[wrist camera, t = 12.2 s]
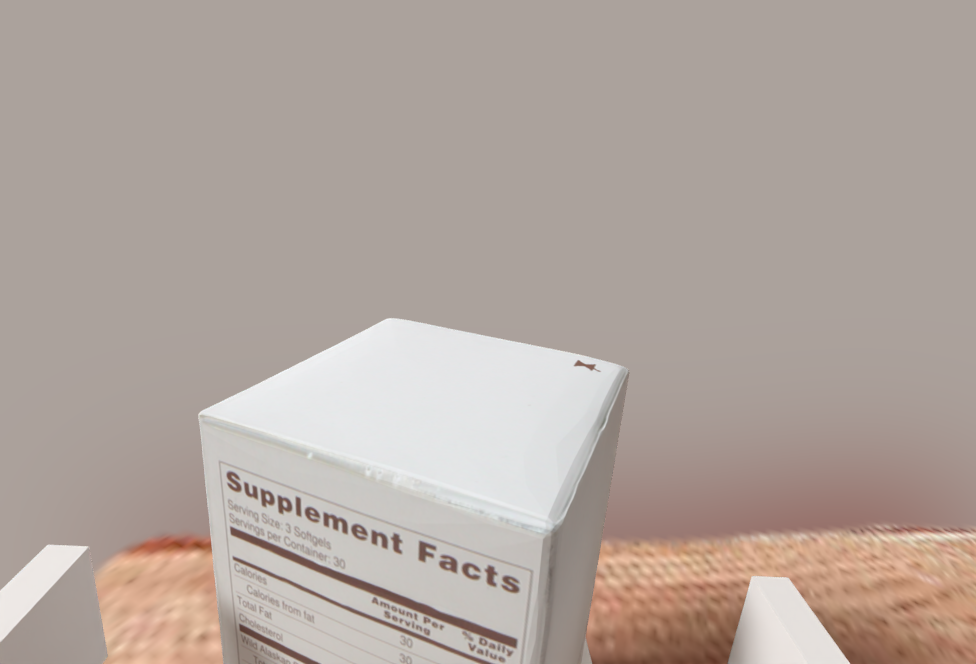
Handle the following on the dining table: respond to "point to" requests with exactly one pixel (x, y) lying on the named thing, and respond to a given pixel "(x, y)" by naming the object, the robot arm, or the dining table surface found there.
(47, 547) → the robot arm
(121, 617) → the dining table surface
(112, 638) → the dining table surface
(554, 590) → the supplement box
